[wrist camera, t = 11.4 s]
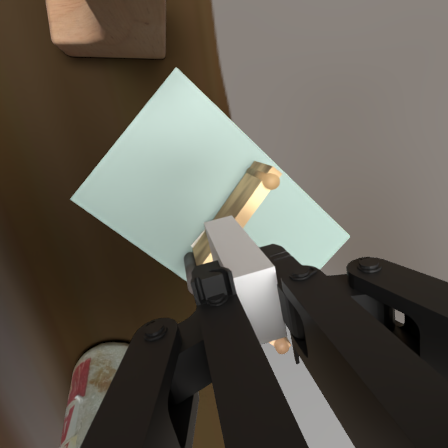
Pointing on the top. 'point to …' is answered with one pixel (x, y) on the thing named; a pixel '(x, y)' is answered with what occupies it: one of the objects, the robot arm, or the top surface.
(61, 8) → the wooden block
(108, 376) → the bottle
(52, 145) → the top surface
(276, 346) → the fence fixed leg
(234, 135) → the board
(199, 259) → the fence panel
